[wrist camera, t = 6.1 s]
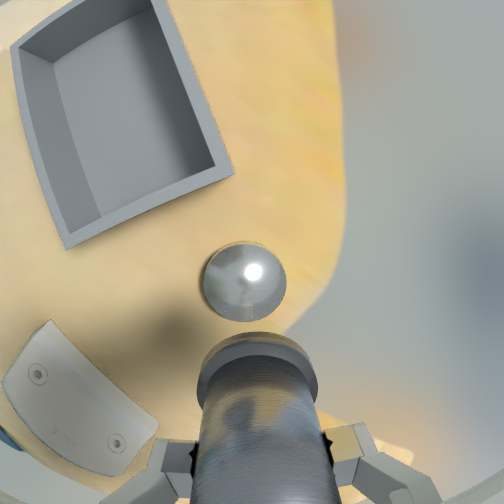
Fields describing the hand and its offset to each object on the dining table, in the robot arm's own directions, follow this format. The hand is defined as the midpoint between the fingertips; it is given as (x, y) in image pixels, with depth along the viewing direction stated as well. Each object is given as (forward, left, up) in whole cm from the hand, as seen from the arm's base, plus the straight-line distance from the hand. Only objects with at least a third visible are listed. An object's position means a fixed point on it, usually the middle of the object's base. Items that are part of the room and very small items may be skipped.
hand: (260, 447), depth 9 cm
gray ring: (0, 0, -16) cm, 16 cm away
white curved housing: (-5, +21, -16) cm, 27 cm away
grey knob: (0, 0, -4) cm, 4 cm away
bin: (+17, +4, -16) cm, 24 cm away
